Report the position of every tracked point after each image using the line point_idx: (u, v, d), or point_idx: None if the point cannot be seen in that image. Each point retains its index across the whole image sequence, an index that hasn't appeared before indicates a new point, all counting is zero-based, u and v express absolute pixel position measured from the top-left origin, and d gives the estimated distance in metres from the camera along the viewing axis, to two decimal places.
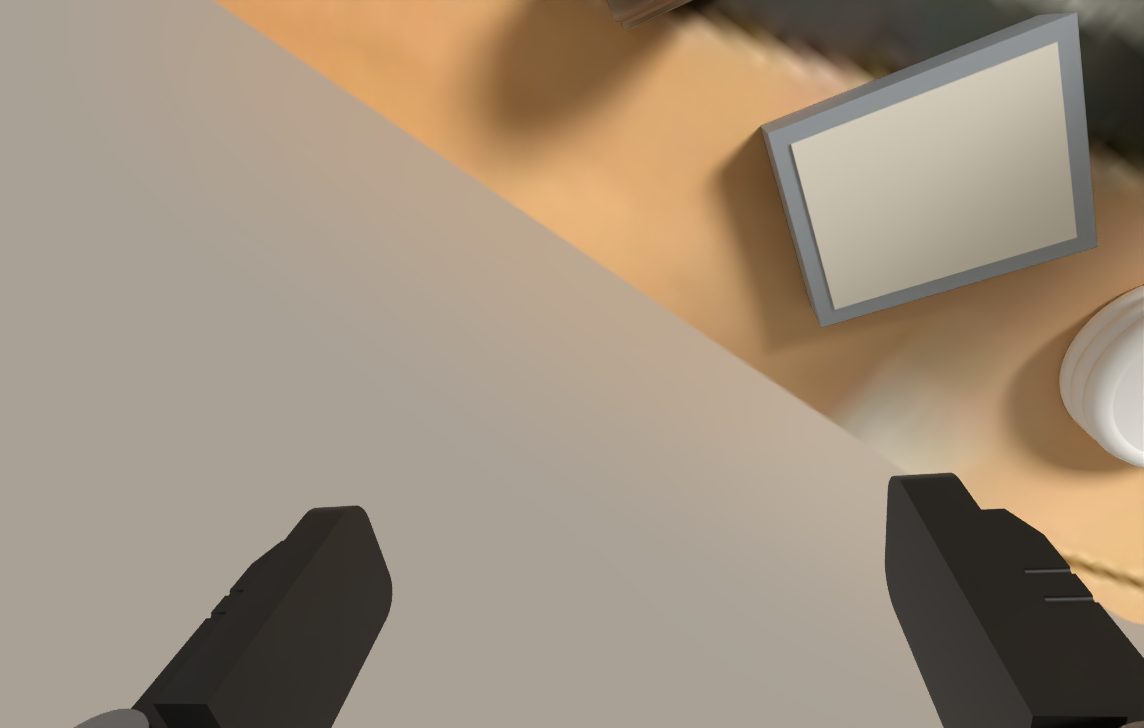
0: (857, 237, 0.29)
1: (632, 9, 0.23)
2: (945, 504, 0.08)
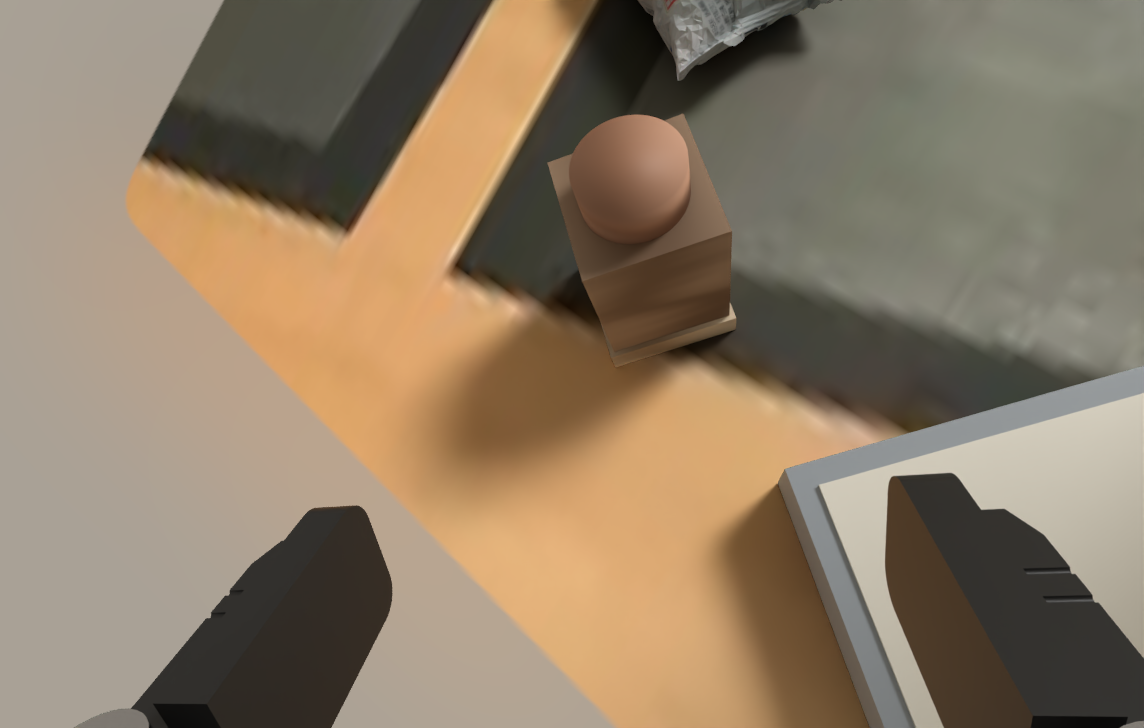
0: None
1: (604, 273, 0.20)
2: (945, 504, 0.08)
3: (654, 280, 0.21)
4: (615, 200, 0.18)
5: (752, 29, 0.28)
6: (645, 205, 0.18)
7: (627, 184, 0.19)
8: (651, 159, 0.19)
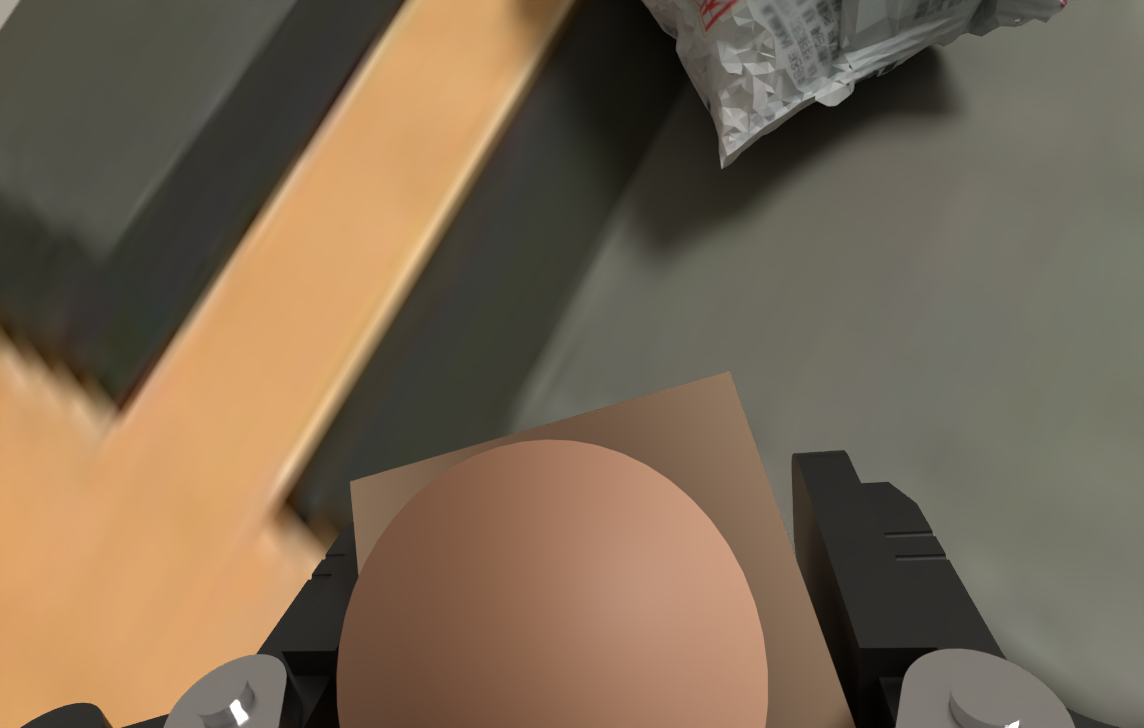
0: None
1: None
2: (830, 476, 0.08)
3: None
4: None
5: (869, 73, 0.14)
6: None
7: None
8: (625, 654, 0.05)
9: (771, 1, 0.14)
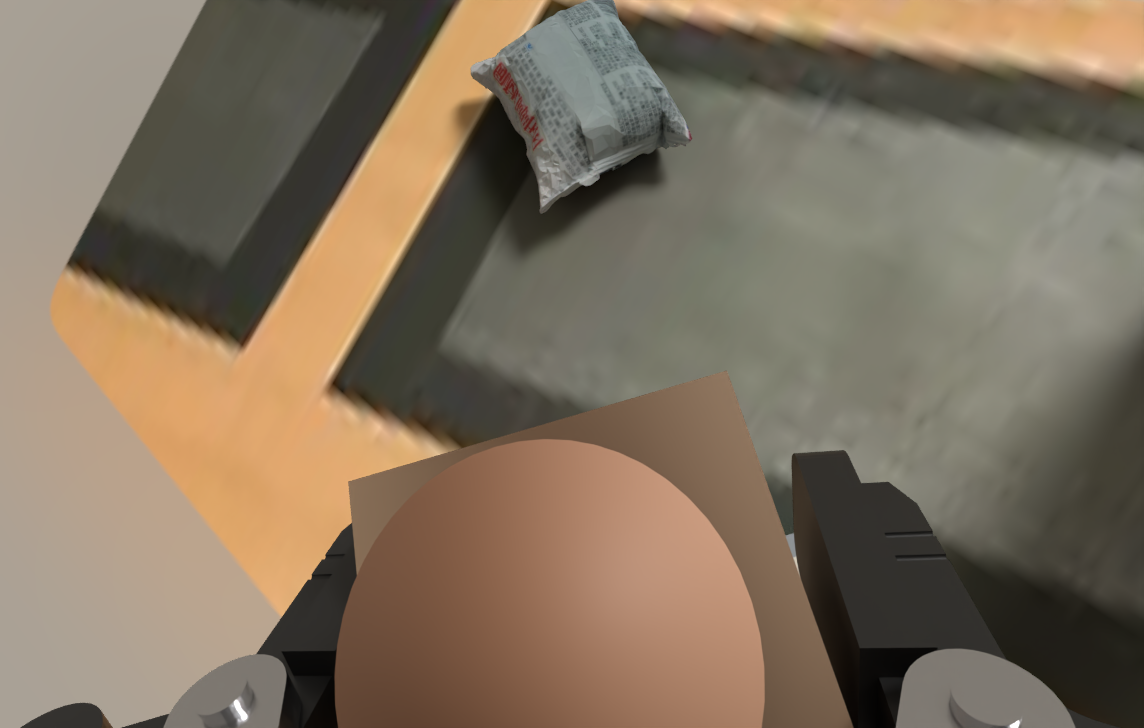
0: None
1: None
2: (830, 477, 0.08)
3: None
4: None
5: (607, 170, 0.32)
6: None
7: None
8: (622, 652, 0.05)
9: (556, 141, 0.31)
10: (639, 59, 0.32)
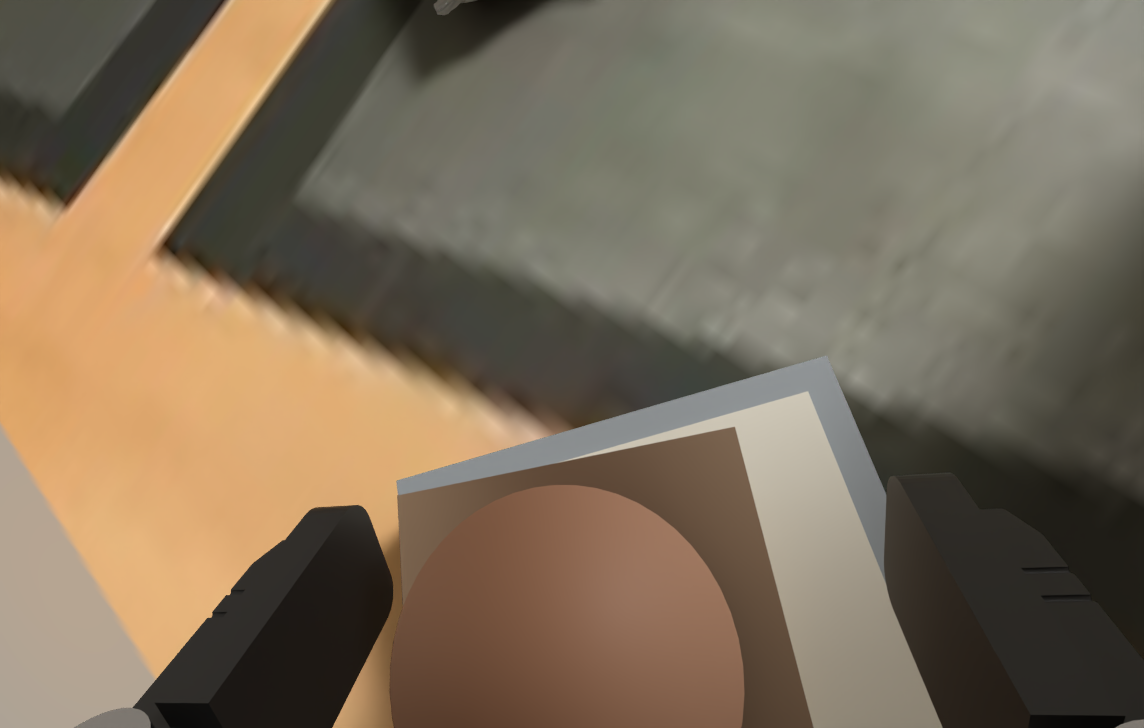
0: None
1: None
2: (943, 504, 0.08)
3: None
4: None
5: None
6: None
7: None
8: (629, 671, 0.06)
9: None
10: None
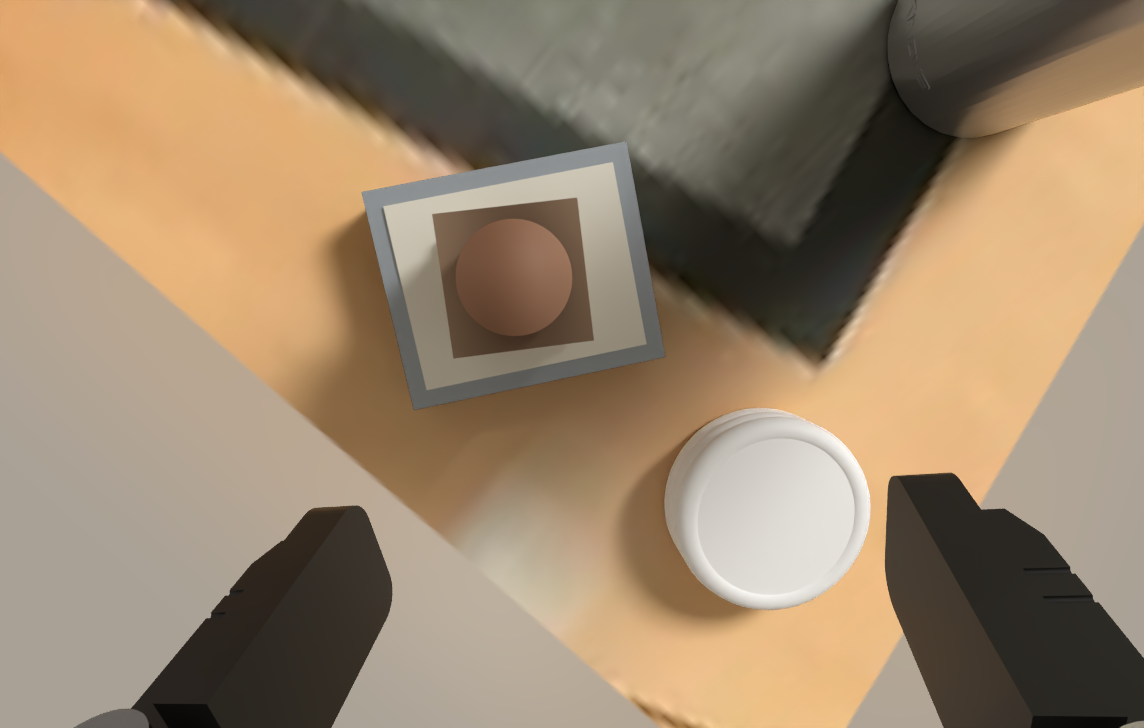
0: None
1: (475, 354, 0.21)
2: (945, 504, 0.08)
3: None
4: (497, 315, 0.20)
5: None
6: (524, 328, 0.20)
7: (511, 301, 0.19)
8: (537, 279, 0.19)
9: None
10: None
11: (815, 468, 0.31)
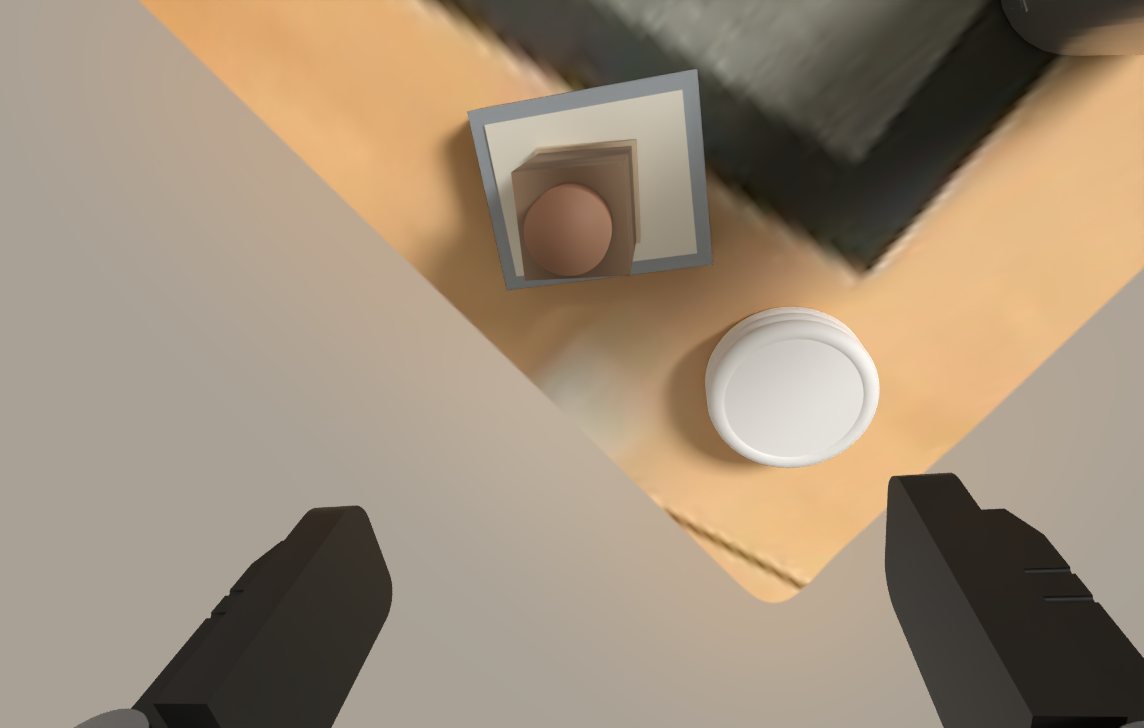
0: None
1: (541, 278, 0.29)
2: (945, 504, 0.08)
3: None
4: (553, 260, 0.26)
5: None
6: (572, 270, 0.26)
7: (563, 250, 0.26)
8: (584, 236, 0.26)
9: None
10: None
11: (833, 366, 0.36)
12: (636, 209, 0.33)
